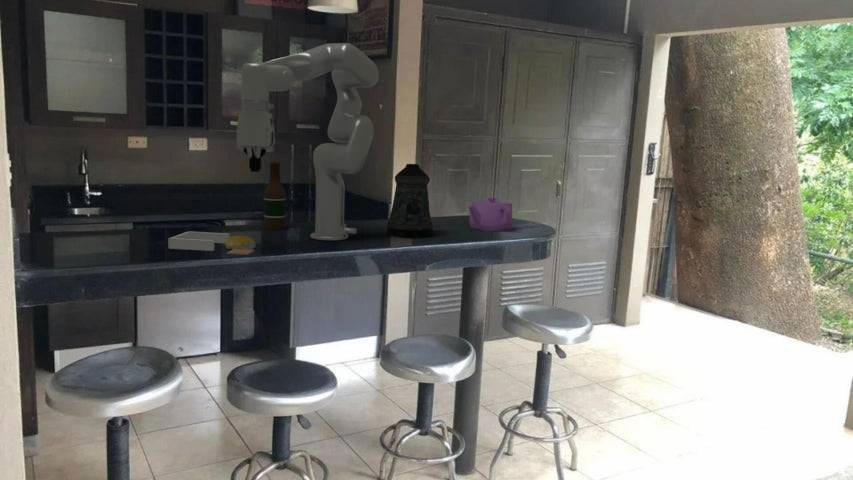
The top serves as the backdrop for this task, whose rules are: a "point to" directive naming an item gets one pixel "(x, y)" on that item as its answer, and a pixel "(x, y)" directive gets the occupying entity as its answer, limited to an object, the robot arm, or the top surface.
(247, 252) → the tile
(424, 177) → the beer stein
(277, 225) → the beer bottle
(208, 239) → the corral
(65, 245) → the top surface
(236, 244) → the bread roll
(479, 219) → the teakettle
